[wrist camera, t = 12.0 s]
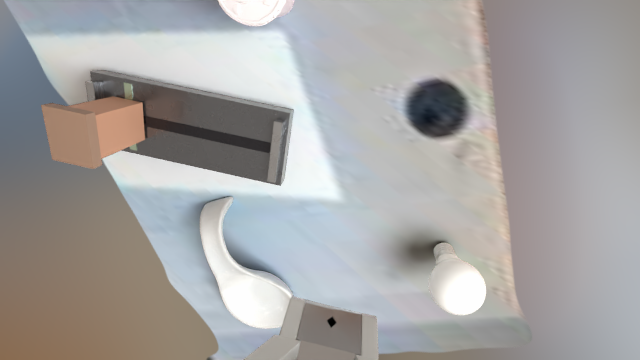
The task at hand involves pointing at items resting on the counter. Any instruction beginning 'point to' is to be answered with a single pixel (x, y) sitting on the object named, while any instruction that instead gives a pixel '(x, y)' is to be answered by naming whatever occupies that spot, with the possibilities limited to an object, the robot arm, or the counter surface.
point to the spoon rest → (241, 276)
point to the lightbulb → (455, 283)
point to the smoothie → (256, 10)
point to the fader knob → (92, 129)
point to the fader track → (203, 127)
